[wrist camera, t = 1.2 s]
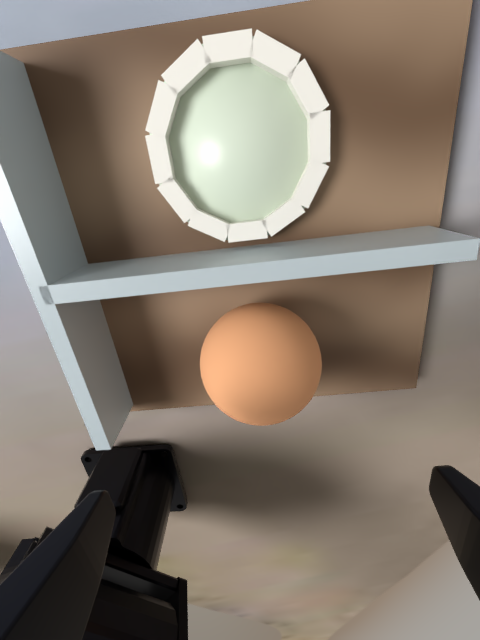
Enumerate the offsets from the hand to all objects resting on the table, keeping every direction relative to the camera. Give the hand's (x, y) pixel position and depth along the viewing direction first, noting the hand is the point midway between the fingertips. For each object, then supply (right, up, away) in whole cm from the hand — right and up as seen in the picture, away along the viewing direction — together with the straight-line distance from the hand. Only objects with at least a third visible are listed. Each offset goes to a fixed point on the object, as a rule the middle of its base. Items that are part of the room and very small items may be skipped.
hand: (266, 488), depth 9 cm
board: (0, +8, +8) cm, 11 cm away
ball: (0, +3, +6) cm, 7 cm away
